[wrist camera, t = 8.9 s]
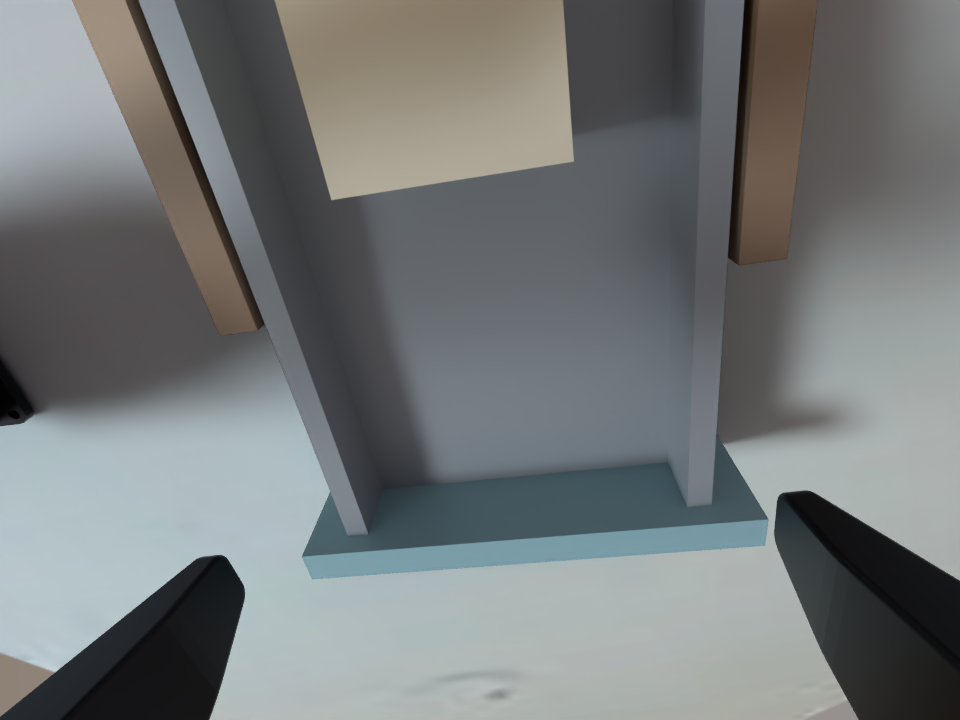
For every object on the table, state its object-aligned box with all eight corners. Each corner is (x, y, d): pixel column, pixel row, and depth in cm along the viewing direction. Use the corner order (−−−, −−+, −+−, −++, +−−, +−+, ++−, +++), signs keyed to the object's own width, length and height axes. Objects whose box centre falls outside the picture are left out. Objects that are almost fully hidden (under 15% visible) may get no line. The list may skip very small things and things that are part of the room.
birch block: (553, 139, 14) (573, 161, 10) (382, 167, 15) (331, 200, 11) (534, -86, 12) (550, -187, 8) (334, -43, 13) (242, -114, 8)
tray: (711, 451, 21) (764, 545, 17) (349, 486, 23) (312, 579, 19) (764, -412, 11) (941, -757, 6) (90, -222, 13) (-133, -388, 8)
